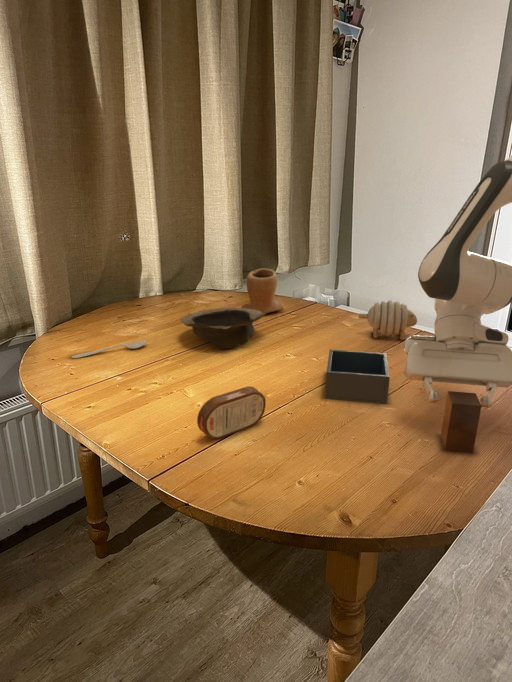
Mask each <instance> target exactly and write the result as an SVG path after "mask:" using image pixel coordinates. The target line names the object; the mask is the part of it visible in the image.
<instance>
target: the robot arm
mask: <svg viewBox="0 0 512 682" xmlns="http://www.w3.org/2000/svg"><path fill="white" fill-rule="evenodd" d="M510 204H512V154H511V155H510V156H509V157H507V159H506V160H502V161H498V162H496V163H494V164H493V165H492V166H491V167H490V168H489V169H488V170H487V172H486V173H485V174H484V175H483V176H482V178H481V180H480V181H479V182H478V184H476V186H475V188H474V189H473V190H472V192H471V193H470V195H469V196H468V197H467V199H466V200H465V202H464V203H463V205H462V206H461V207H460V209H459V211H458V212H457V214H456V215H455V216H454V218H453V220H452V221H451V222H450V224H449V226H448V227H447V228H446V230H445V231H444V233H443V234H442V236H441V237H440V238H439V240H438V241H437V242H436V243H435V244H434V245H433V247H432V248H430V250H429V251H428V252H427V253H426V255H425V256H424V257H423V259H422V261H421V263H420V265H419V268H418V272H417V278H418V282H419V284H420V286H421V288H422V290H423V291H424V293H425V295H426V296H427V297H428V298H431V299H433V300H434V301H433V302H434V310H435V313H436V317H435V320H434V335H419V334H413V335H411V336H409V337H407V338H406V339H404V342H403V352H404V353H405V354H406V358H405V364H404V377H406V378H407V380H408V381H422V387H423V388H424V390H425V391H426V393H427V395H428V403H430V404H431V403H433V404H437V403H438V402H439V391H435V390H434V389H433V387H432V386H431V385H432V383H447V384H458V385H471V386H482V387H485V391H486V392H488V393H487V394H486V395H482V396H481V397H480V399H479V402H480V404H481V408H491V407H492V397H493V395H494V394H495V392H496V390H497V389H498V388H506V389H507V388H509V387H511V386H512V349H511V348H510V347H509V346H508V343H509V335H508V334H507V333H506V332H503V331H501V330H498V329H495V328H492V327H489V326H487V325H484V324H482V321H481V320H482V319H481V318H482V316H483V315H490V314H493V313H495V312H498V311H499V310H502V309H504V308H506V307H508V306H509V305H510V304H511V303H512V263H509V262H506V261H504V260H500V259H497V258H493V257H489V256H484V255H481V254H478V253H475V252H471V251H469V250H470V248H471V247H472V245H473V244H474V243H475V241H476V240H477V238H478V237H479V236H480V234H481V233H482V231H483V229H484V228H485V227H486V225H487V224H488V223H489V221H490V220H491V218H492V217H493V215H494V214H496V212H497V211H499V210H500V209H502V208H503V207H504V206H506V205H510Z"/></svg>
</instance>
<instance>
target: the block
mask: <svg viewBox="0 0 512 682" xmlns="http://www.w3.org/2000/svg"><path fill="white" fill-rule="evenodd" d="M481 412H482V407H481V402H480V399H479V397H478V396H477V393H475V392H466V391H452V390H447V393H446V400H445V406H444V413H443V420H442V426H441V432H440V438H441V442H442V446H443V449H444V451H448V452H458V453H467V454H468V453H469V454H473V453H474V449H475V444H476V439H477V432H478V428H479V421H480V416H481Z"/></svg>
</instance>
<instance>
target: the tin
mask: <svg viewBox="0 0 512 682" xmlns="http://www.w3.org/2000/svg"><path fill="white" fill-rule="evenodd" d="M266 402H267V401H266V397H265V395H264V394H263V393H262V392H260V390H258V389H257V388H256V387H254V386H249V385H248V386H244V387H241V388H237V389H233V390H232V391H228V392H225V393H222V394H218V395H215V396H213V397H211V398H209V399H208V400H207V401H206V402H204V403H203V404H202V406H201V407H200V409H199V411H198V414H197V419H196V423H197V427H198V429H199V430H200V432H202V433H204V435H206V436H207V437H208V438H210V439H221V438H224V437H227V436H230V435H232V434H235V433H237V432H240V431H243V430H246V429H248V428H251V427H253V426H255V425H256V424H257V423H258V422H259V421H260V420H261V419H262V417H263V416H264V413H265V412H266V411H265V410H266V404H267V403H266Z"/></svg>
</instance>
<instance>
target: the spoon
mask: <svg viewBox="0 0 512 682" xmlns="http://www.w3.org/2000/svg"><path fill="white" fill-rule="evenodd" d="M147 343H148V341H147V340H140V341H135V342H129V343H121V344H120V343H119V344H117V345H113V346H109V347H104V348H102V349H96V350H93V351H88V352H83V353H79V354H74V355H72V356H71V358H72V359H81V358H85V357H88V356H92V355H97V354H98V353H99V354H100V353H101V352H102V353H103V352H105V351H108V350H111V349H115V348H119V347H126V348H128V349H139V348H141V347H143V346H145V345H146V344H147Z"/></svg>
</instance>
